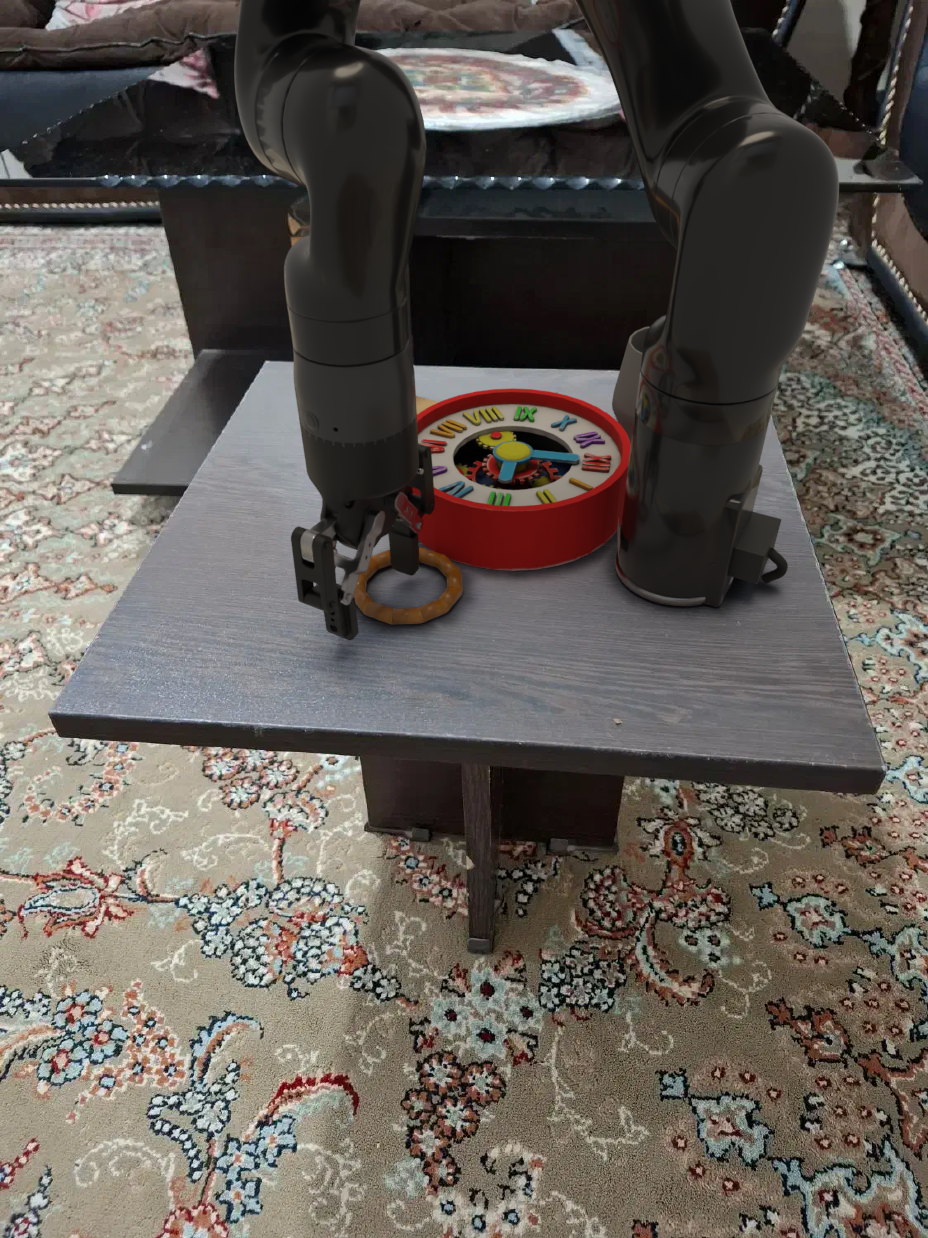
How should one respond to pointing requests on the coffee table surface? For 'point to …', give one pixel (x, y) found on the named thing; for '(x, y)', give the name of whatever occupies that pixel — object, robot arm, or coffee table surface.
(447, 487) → the toy clock
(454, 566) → the ring
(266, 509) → the coffee table surface
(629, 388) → the cup
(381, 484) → the robot arm
